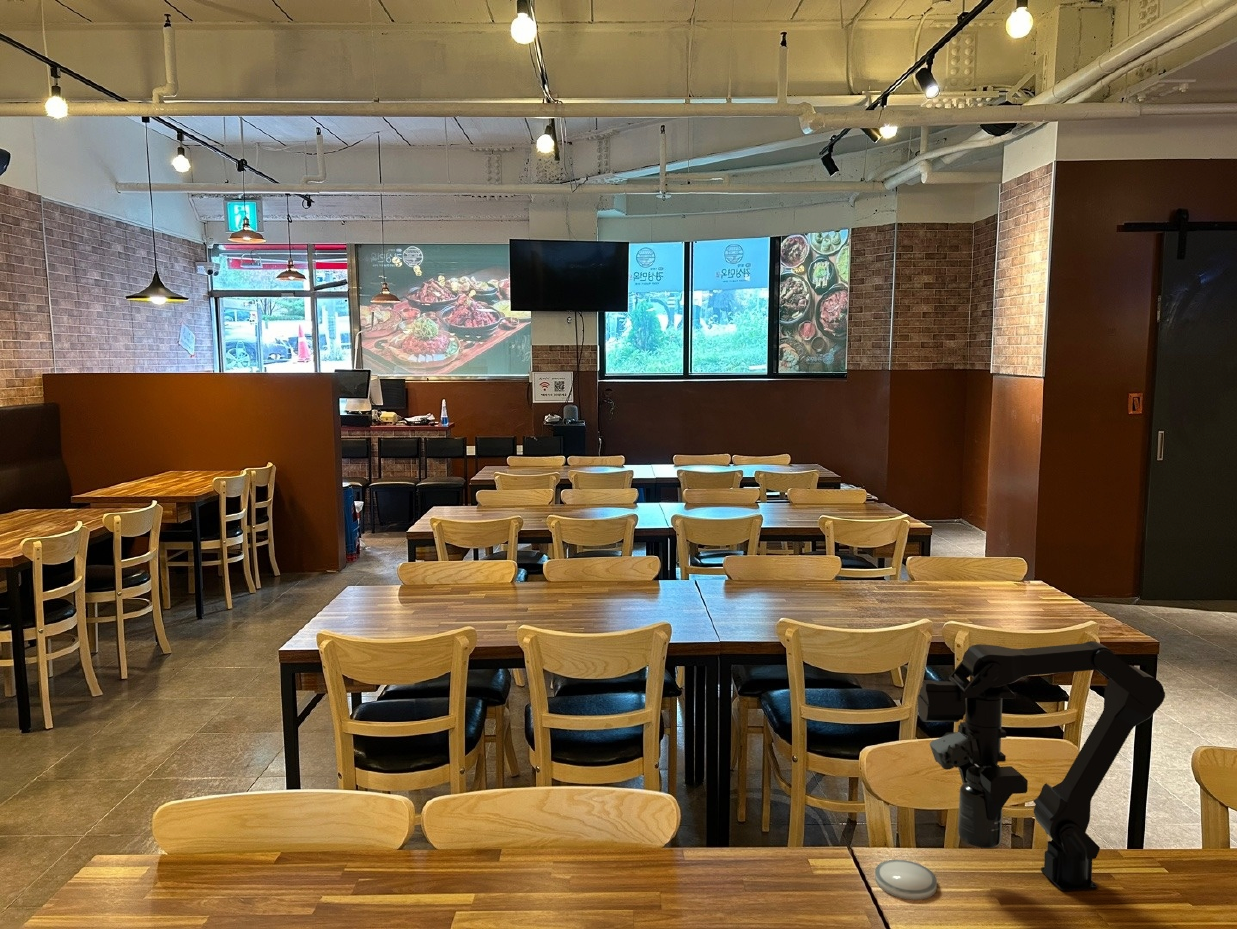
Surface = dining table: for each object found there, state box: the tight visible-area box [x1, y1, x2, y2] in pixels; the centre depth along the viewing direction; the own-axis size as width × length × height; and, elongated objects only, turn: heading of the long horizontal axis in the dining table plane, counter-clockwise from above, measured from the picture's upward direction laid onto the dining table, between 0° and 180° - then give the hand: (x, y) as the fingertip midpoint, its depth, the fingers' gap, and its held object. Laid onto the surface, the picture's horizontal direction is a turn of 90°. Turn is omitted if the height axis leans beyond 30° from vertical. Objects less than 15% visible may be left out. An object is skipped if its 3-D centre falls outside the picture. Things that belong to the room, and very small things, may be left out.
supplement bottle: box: [957, 766, 1003, 849], centre depth 147 cm, size 7×7×12 cm
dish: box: [874, 859, 938, 901], centre depth 147 cm, size 10×10×1 cm
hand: (980, 809), depth 147 cm, fingers closed on supplement bottle, 7 cm apart
